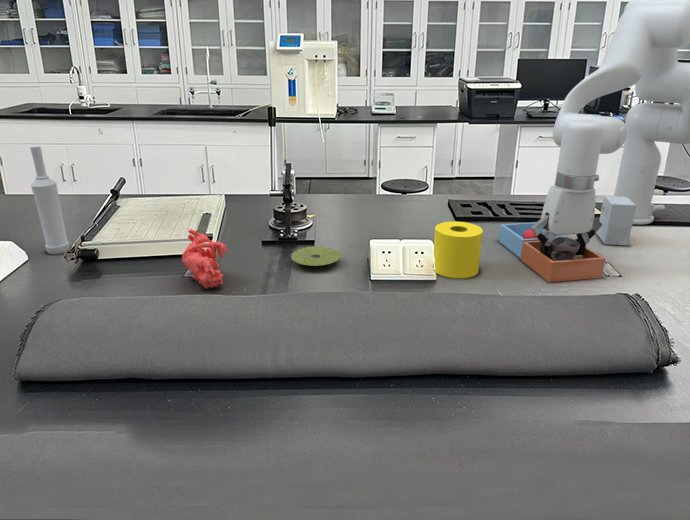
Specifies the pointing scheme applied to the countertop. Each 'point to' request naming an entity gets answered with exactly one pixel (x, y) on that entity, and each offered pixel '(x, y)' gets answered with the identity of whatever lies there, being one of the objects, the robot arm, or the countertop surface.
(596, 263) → the bin
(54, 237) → the bottle
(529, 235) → the molecule
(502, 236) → the blue bin
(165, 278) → the countertop surface
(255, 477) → the countertop surface
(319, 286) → the countertop surface
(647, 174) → the robot arm
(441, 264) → the tape roll
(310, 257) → the green sanding disc
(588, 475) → the countertop surface
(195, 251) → the anatomical heart
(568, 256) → the dental mold
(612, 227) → the small box
